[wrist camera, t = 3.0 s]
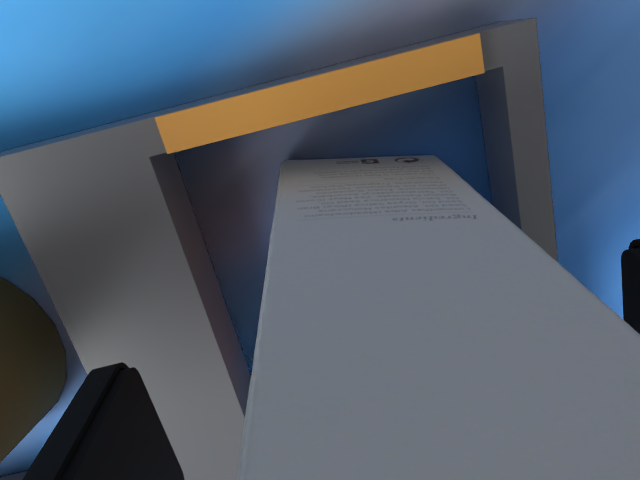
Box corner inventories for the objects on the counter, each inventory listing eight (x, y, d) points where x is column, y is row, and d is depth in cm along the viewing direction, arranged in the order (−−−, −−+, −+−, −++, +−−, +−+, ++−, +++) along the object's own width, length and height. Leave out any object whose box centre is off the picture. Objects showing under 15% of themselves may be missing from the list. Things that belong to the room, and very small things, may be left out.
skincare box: (275, 157, 14) (190, 634, 3) (436, 151, 14) (996, 582, 3) (287, 354, 16) (268, 1079, 5) (426, 348, 16) (721, 1039, 5)
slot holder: (501, 21, 13) (542, 17, 11) (540, 373, 17) (577, 423, 14) (-323, 235, 14) (-436, 271, 12) (-112, 523, 18) (-169, 589, 15)
